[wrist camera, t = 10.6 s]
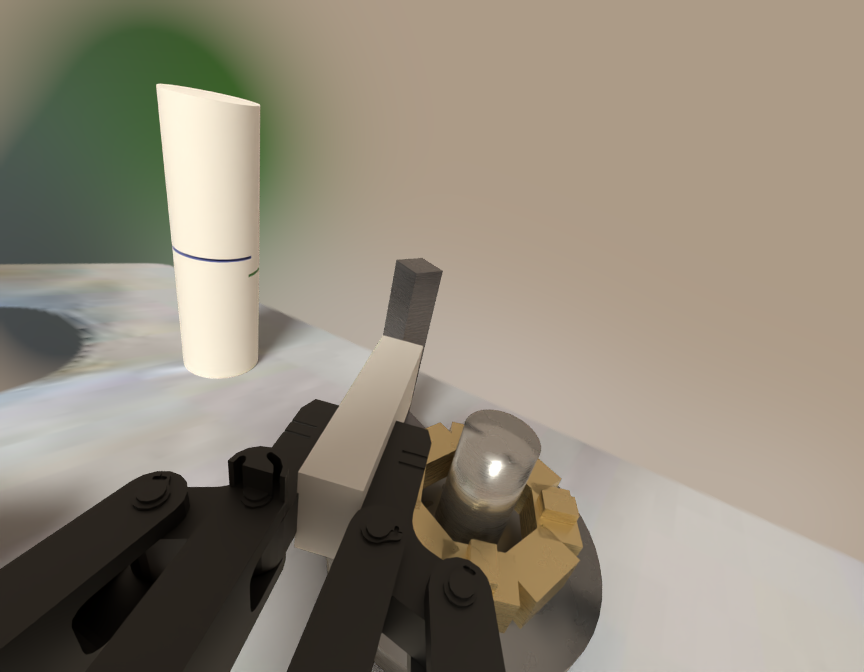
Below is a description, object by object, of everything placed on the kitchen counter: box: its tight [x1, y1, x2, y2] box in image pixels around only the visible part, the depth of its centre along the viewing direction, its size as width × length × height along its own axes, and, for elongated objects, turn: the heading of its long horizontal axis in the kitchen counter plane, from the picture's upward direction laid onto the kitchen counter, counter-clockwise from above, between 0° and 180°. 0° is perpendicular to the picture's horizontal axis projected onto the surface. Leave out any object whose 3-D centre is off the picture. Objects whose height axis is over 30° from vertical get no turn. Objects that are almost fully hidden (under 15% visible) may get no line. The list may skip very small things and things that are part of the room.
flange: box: [326, 410, 602, 672], centre depth 29 cm, size 20×20×11 cm
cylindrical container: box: [156, 84, 260, 379], centre depth 38 cm, size 7×7×25 cm
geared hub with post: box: [383, 258, 583, 633], centre depth 28 cm, size 19×14×16 cm
